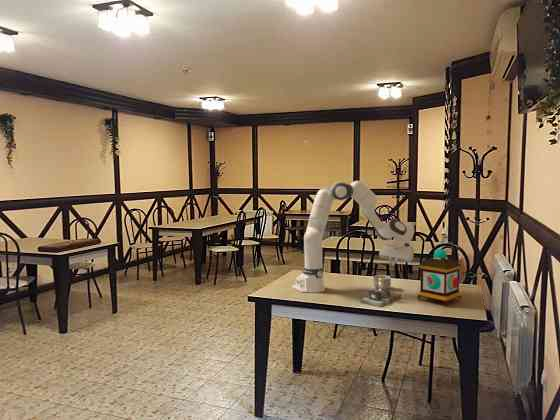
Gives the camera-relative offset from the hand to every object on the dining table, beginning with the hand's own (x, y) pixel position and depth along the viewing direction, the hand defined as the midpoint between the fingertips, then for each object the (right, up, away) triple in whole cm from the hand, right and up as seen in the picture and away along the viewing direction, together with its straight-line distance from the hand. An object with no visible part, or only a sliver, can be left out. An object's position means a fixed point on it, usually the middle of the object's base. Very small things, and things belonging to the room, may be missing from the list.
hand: (391, 264), depth 251 cm
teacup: (-1, -18, +19) cm, 26 cm away
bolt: (-10, -17, -10) cm, 22 cm away
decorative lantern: (+25, -20, -9) cm, 33 cm away
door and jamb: (-8, -19, -7) cm, 22 cm away
